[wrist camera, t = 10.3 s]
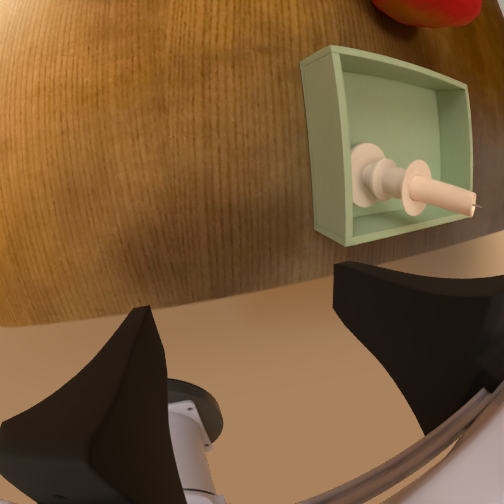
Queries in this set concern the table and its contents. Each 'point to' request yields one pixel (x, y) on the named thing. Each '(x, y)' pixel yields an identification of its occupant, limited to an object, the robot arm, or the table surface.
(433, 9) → the apple
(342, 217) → the open box
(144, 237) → the table surface
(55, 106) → the table surface
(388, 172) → the candle
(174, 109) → the table surface
